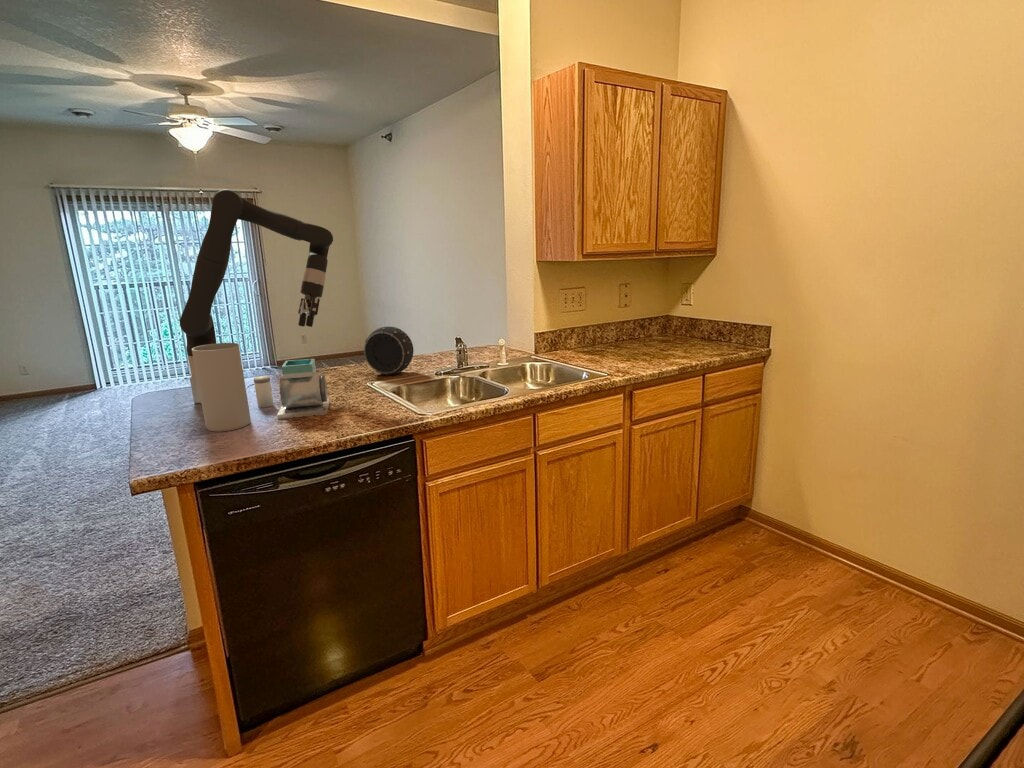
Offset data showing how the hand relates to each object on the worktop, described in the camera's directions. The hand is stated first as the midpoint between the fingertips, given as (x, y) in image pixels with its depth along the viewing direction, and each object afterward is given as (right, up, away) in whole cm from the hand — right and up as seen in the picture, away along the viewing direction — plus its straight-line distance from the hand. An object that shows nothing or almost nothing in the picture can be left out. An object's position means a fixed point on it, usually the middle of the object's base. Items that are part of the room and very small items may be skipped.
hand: (305, 326), depth 198 cm
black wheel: (+25, -17, +31) cm, 43 cm away
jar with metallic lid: (-10, -29, -9) cm, 32 cm away
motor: (+6, -30, -16) cm, 35 cm away
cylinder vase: (-12, -34, -30) cm, 47 cm away
